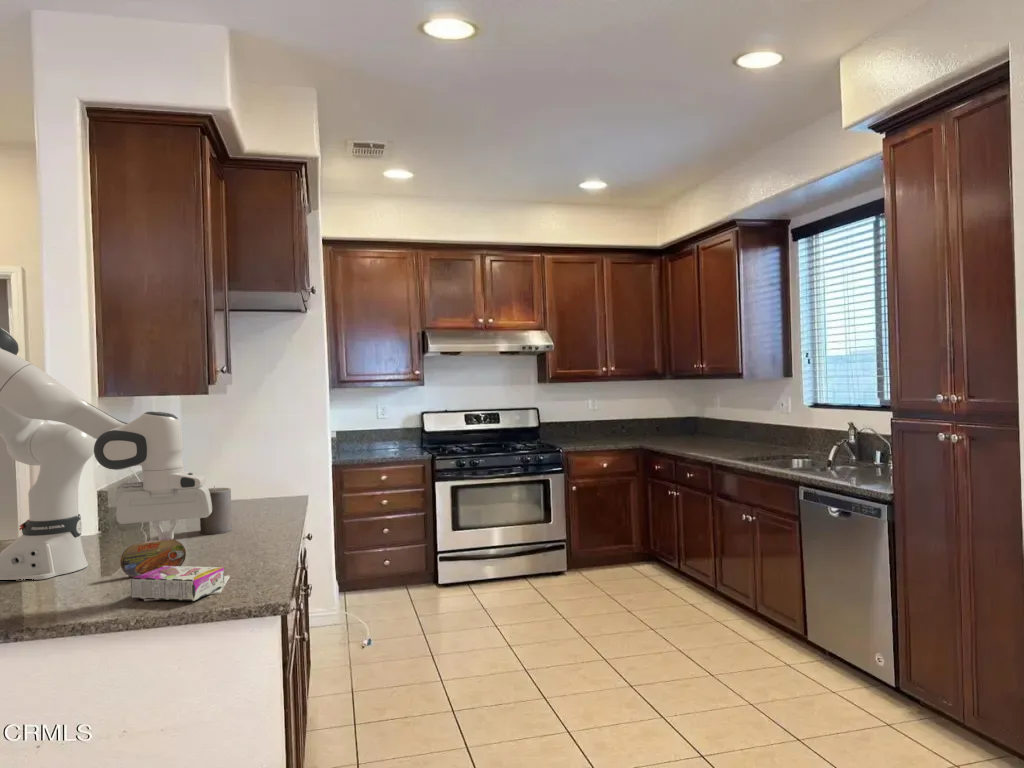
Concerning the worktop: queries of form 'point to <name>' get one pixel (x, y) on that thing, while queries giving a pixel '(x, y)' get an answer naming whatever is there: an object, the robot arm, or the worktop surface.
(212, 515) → the pillar candle
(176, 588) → the candy bar box
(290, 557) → the worktop surface
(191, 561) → the worktop surface
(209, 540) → the worktop surface
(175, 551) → the tin
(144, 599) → the mat
